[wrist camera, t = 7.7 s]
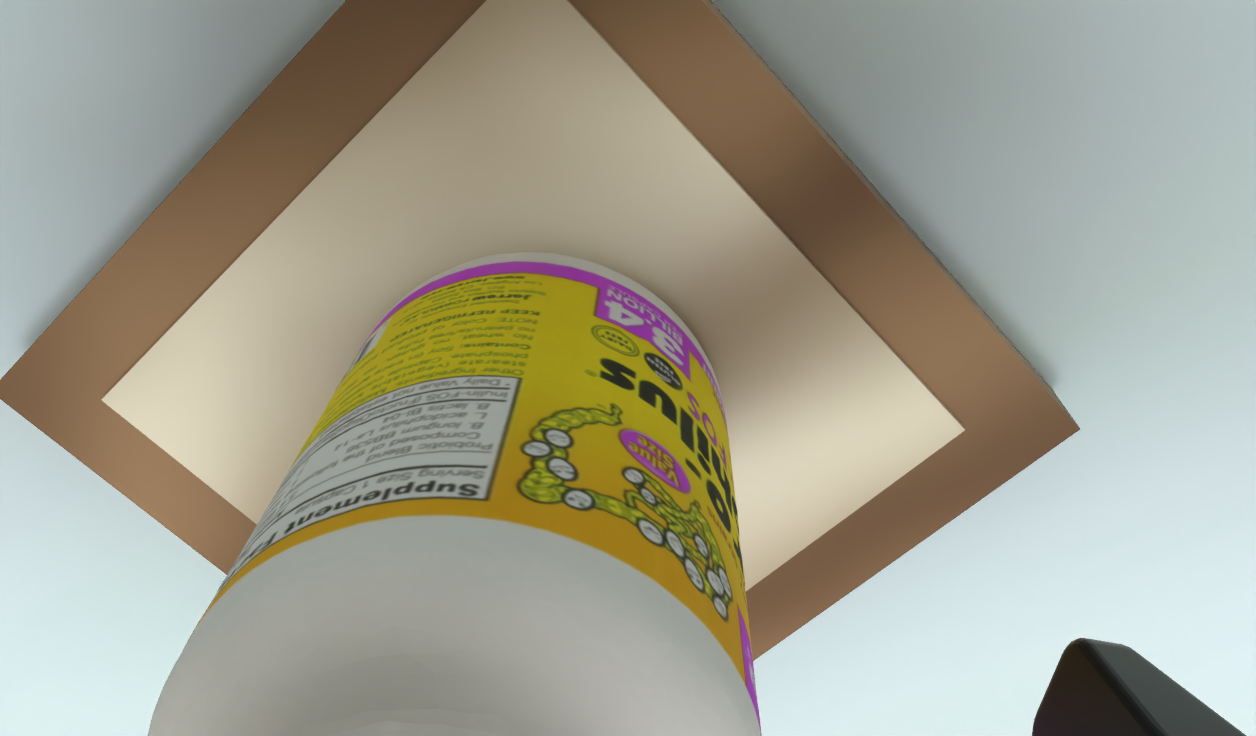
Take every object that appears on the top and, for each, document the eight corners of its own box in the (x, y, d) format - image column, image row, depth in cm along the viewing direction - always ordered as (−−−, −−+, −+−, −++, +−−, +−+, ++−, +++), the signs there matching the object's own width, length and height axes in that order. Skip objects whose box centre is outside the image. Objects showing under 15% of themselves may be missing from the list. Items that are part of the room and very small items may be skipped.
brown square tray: (1052, 390, 22) (1084, 433, 21) (542, 760, 26) (535, 821, 25) (537, -196, 18) (525, -198, 17) (32, 354, 22) (-16, 395, 21)
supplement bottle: (766, 518, 22) (895, 1330, 10) (437, 602, 22) (201, 1430, 11) (662, 186, 19) (667, 759, 7) (293, 297, 20) (-224, 960, 8)
